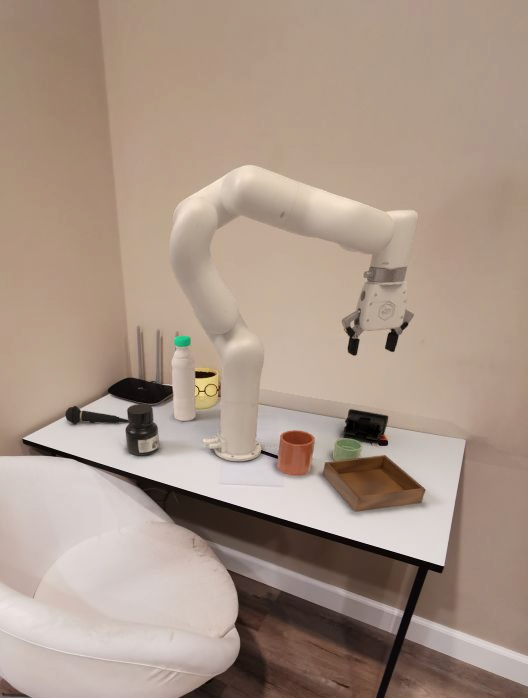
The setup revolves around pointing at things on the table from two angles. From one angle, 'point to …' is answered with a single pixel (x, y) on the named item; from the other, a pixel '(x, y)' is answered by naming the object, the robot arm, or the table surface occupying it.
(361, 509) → the tray
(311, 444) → the cup
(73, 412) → the microphone
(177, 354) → the water bottle
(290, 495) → the table surface
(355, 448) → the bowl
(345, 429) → the black angular box
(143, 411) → the ink bottle
